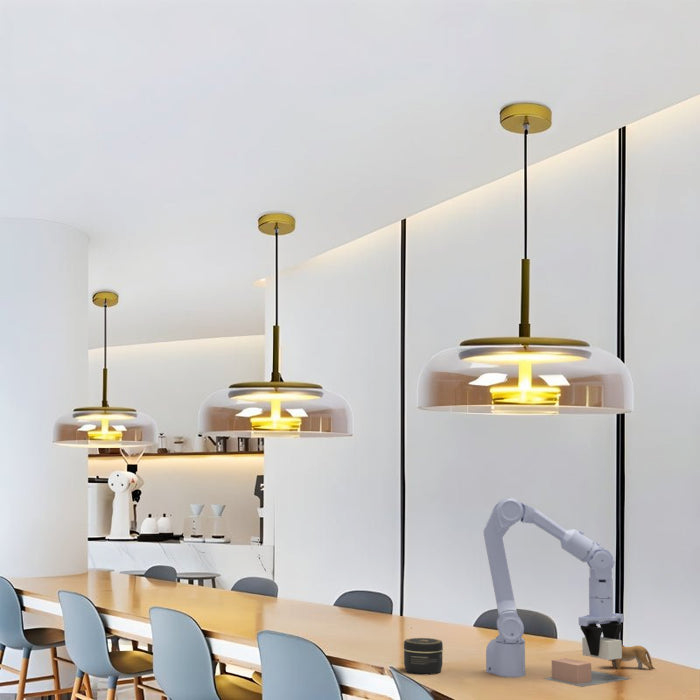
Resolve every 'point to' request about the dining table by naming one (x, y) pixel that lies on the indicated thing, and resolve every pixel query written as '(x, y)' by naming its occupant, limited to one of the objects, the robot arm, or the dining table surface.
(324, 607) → the dining table surface
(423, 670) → the jar
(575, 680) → the terracotta brick
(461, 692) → the dining table surface
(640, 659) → the lion figurine
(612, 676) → the baseplate
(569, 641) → the dining table surface
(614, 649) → the cream brick
